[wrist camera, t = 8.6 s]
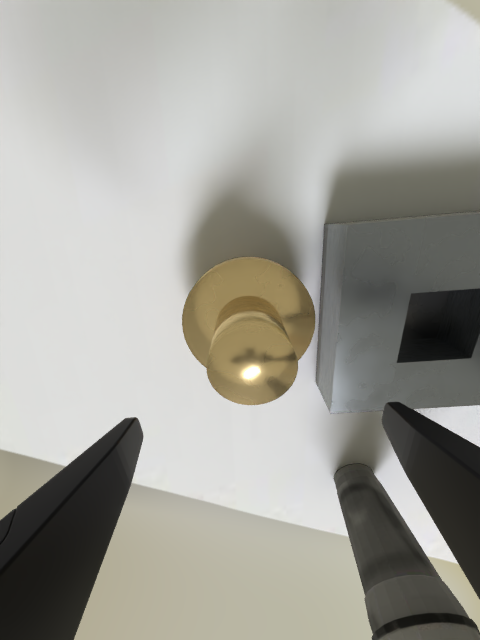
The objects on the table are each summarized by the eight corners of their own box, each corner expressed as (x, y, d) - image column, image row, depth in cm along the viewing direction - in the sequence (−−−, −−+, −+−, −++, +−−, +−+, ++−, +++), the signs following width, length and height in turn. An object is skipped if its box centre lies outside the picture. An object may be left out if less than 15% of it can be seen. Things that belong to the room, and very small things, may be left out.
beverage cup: (320, 459, 26) (504, 1005, 8) (387, 451, 26) (747, 1015, 7) (323, 499, 29) (464, 974, 11) (383, 493, 29) (639, 980, 10)
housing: (524, 207, 17) (606, 202, 13) (466, 372, 22) (512, 403, 18) (324, 224, 17) (347, 224, 13) (315, 382, 22) (330, 413, 19)
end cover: (302, 247, 18) (356, 267, 9) (300, 350, 21) (338, 432, 13) (184, 256, 18) (137, 285, 10) (201, 357, 21) (176, 441, 13)
